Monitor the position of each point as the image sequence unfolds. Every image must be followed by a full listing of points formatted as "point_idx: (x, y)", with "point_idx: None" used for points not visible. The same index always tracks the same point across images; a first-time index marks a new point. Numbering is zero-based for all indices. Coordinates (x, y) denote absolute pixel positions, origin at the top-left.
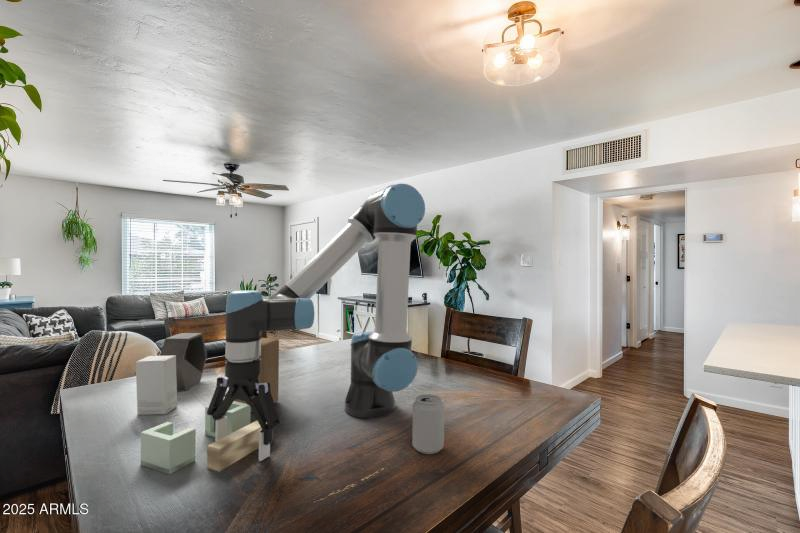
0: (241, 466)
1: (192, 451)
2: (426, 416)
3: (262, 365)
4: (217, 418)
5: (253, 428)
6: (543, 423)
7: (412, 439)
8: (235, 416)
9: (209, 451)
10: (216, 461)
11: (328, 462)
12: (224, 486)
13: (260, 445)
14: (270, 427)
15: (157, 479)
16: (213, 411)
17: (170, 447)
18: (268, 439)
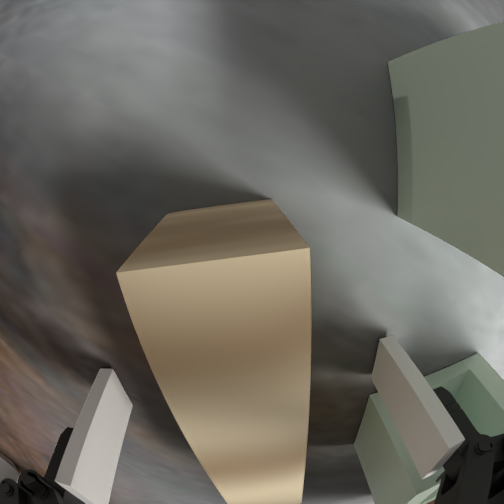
0: (126, 308)
1: (435, 212)
2: None
3: None
4: (462, 450)
5: (241, 492)
6: None
7: (2, 466)
8: (400, 482)
9: (266, 233)
10: (181, 224)
11: (6, 407)
12: (34, 151)
13: (80, 421)
14: (4, 486)
15: (387, 18)
16: (501, 459)
17: (495, 30)
18: (58, 449)
